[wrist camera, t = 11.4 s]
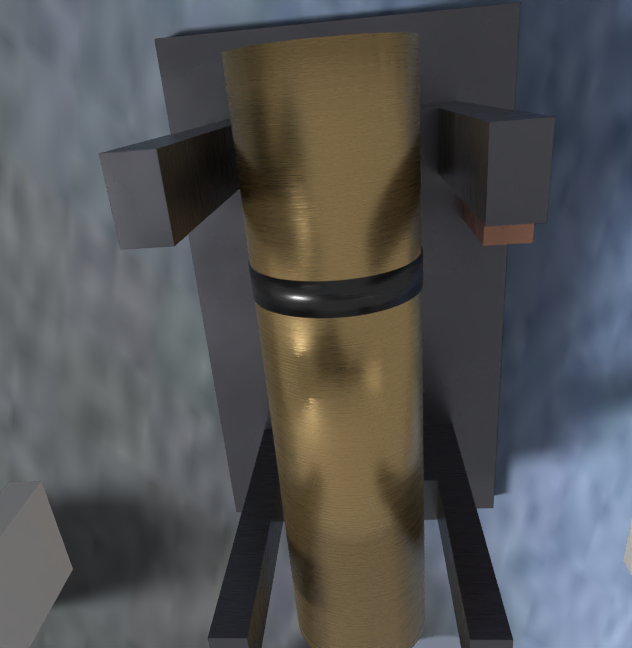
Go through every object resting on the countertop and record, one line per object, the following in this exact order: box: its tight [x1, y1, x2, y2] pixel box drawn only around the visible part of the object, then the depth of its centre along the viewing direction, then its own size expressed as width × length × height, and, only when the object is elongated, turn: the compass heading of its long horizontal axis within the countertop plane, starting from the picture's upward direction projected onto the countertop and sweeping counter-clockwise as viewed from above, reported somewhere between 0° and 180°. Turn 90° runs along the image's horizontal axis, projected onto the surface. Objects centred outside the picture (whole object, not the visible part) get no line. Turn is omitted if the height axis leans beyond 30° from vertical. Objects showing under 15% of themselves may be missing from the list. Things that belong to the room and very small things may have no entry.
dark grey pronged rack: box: [99, 2, 555, 648], centre depth 19 cm, size 22×13×12 cm, turn 5°
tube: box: [222, 32, 425, 648], centre depth 18 cm, size 20×5×5 cm, turn 5°
